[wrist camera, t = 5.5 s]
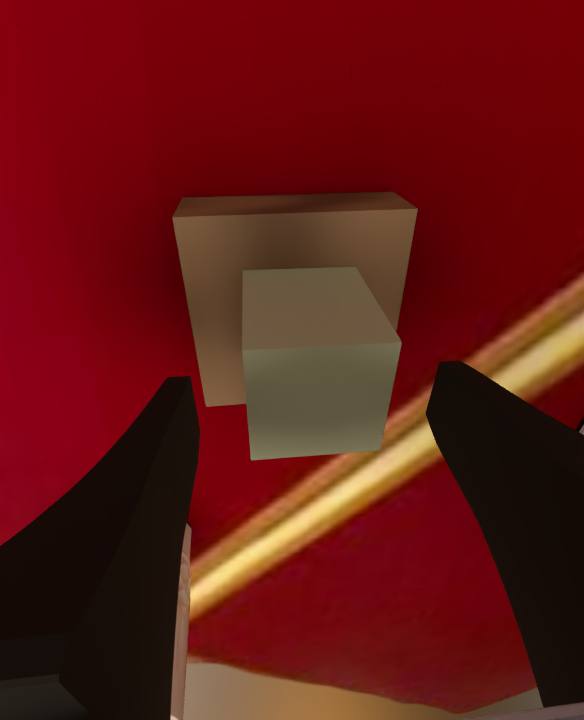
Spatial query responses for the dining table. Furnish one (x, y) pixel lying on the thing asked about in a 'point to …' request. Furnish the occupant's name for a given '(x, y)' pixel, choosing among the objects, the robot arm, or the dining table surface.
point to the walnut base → (280, 261)
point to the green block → (315, 362)
